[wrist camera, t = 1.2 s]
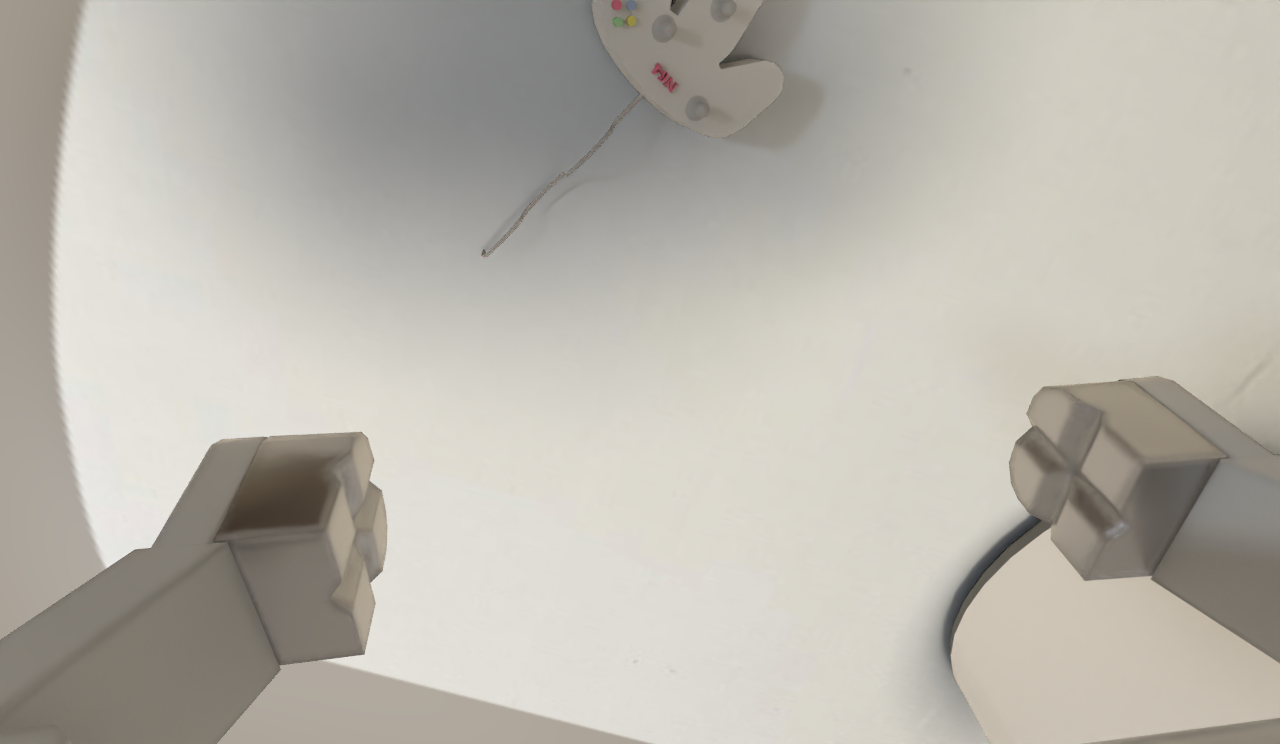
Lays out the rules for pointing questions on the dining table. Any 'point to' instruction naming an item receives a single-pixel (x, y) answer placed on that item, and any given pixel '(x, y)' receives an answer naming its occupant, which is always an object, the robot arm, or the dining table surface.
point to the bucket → (1097, 655)
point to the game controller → (683, 65)
